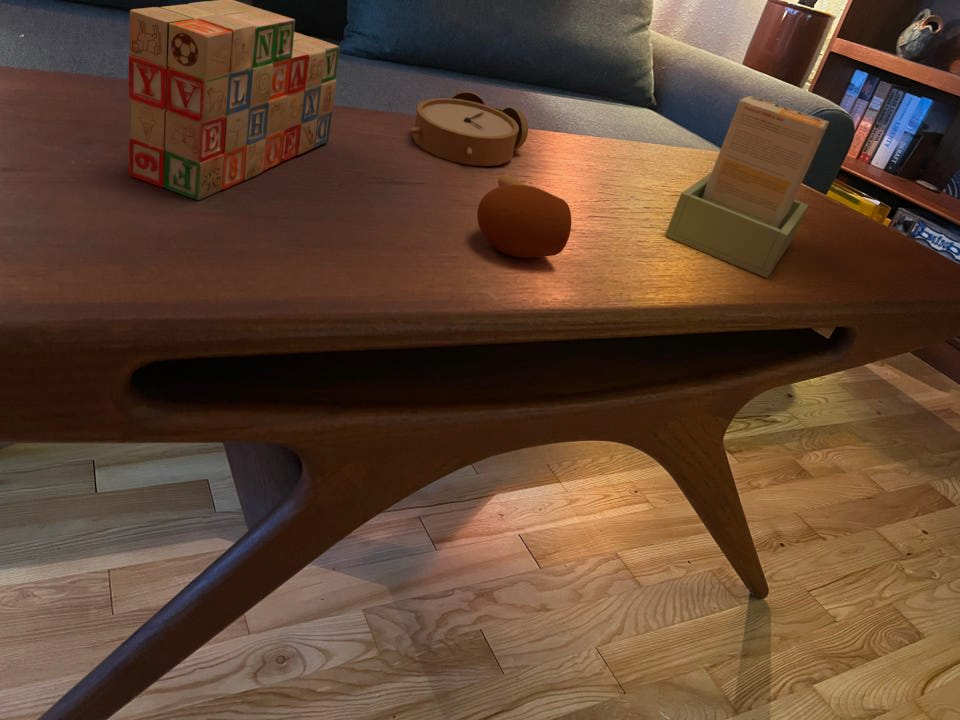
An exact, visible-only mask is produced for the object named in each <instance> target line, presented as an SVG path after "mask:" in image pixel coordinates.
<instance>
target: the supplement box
mask: <svg viewBox="0 0 960 720" xmlns="http://www.w3.org/2000/svg"><path fill="white" fill-rule="evenodd" d="M829 124H830V122H829V121H828V120H825V119H823V118H820V117H817V116H814V115H811V114H809V113H805V112H802V111H799V110H795V109H793V108H790V107H787V106H784V105H781V104H778V103H775V102H772V101H769V100H766V99H763V98H759V97H757V96H754V95H748V96H746V97H743V98H741V99H739V101H738V104H737V106H736V109H735V111H734V114H733V117H732V119H731V122H730V124H729V127H728V130H727V132H726V135H725V138H724V140H723V142H722V144H721V148H720V150H719V153H718V156H717V158H716V160H715V163H714V166H713V168H712V170H711V172H712V173H711V172H710V173H711V175H710V178H709V181H708V183H707V186H706V188H705V191H704V193H703V196H702V199H704V200H707V201H709V202H712V203H714V204H717V205H719V206H722V207H725V208H727V209H730V210H732V211H735V212H737V213H740V214H742V215H745V216H747V217H750V218H752V219H755V220H758V221H760V222H763V223H765V224H768V225H770V226H773V227H775V228H778V229H781V227H782V225H783V223H784V221H785V219H786V216H787V214H788V212H789V210H790V207H791V205H792V203H793V201H794V200H796V197H797V194H798V192H799V190H800V187H801V185H802V183H803V182H804V179H805V177H806V175H807V173H808V170H809V168H810V166H811V163H812V162H813V159H814V157H815V155H816V152H817V150H818V148H819V146H820V144H821V142H822V140H823V137H824V135H825V133H826V131H827V128H828V126H829Z"/></svg>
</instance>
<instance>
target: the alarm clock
mask: <svg viewBox="0 0 960 720" xmlns="http://www.w3.org/2000/svg"><path fill="white" fill-rule="evenodd" d="M408 131H409V133H410V134H412V138H413V141H414V142H415V144H416V145H418V146H419V147H420V148H421V149H422V150H424V151H426V153H427V152H428V153H429V154H431V155H434V156H436V157H437V158H441V159H444V160H447V161H450V162H453V163H458V164H463V165H467V166H479V167H491V166H500V165H503V164H507V163H509V161H511V159H512V158H513V156H514V151H516V150H518V149H519V148H521V147H523V145H524V144H525V142H526V140H527V138H528V135H529V125H528V120H527V117H526V116H525V115H524V114H523V113H522V111H521V110H519V109H517V108H514V107H505V108H504V109H502V108H499V107H495V106H491V105H486V103H485V102H484V100H483V99H482V98H481V96H479V95H478V94H476V93H475V92H472V91H461V92H458V93H456V94H455V95H453V96H452V97H437V98H436V97H435V98H429V99H425V100H423V101H421V102H419V103H418V104H417V108H416V116H415V123H414V127H412V128H410V129H409V130H408Z"/></svg>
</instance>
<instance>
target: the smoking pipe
mask: <svg viewBox="0 0 960 720" xmlns="http://www.w3.org/2000/svg"><path fill="white" fill-rule="evenodd" d="M497 184H498V187H496V188H493V189H491V190H490V191H488V192H487V193H486V194H484V196H483V197H482V198H481V200H480V201H479V203H478V206H477V212H476V216H477V217H476V218H477V224H478V227H479V229H480V231H481V233H482V235H483V237H484V238H485V239H486V241H487V242H488V244H489V245H491V246H492V247H494V249H496V250H498V251H500V252H502V253H503V254H505V255H508V256H509V257H514V258H519V259H520V258H524V259H530V258H531V259H532V258H542V257H552V256H553V257H554V256H556V255H558V254H560V253H561V252H562V251H563V250H564V249H565V247H566V246H567V243H568V241H569V238H570V236H571V231H572V213H571V209H570V206H569V205H568V202H567V201H566V200H565V199H563V198H561V197H559V196H557V195H554V194H552V193H550V192H548V191H546V190H543V189H542V188H539V187H535V186H531V185H527V184H526V183H524V182H521V181H520V180H518V179H516V178H515V177H513V176H512V174H509V173H503V174H500V176H499V177H498V180H497Z"/></svg>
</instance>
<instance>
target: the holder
mask: <svg viewBox="0 0 960 720" xmlns="http://www.w3.org/2000/svg"><path fill="white" fill-rule="evenodd" d="M711 173H712V171H711V172H710V173H708V174H706V175H705V176H704V177H702V178H701V179H700V180H698V181H696V182H695V183H694V184H692V185H691V186H689V187H688V188H686V189H685V190H684V191H682V192H681V193H680V195H679V198H678V200H677V203H676V206H675V208H674V211H673V213H672V216H671V218H670V221H669V224H668V227H667V228H666V231H665V234H664V237H666V238H668V239H671V240H674V241H675V242H678V243H681V244H683V245H685V246H688V247H690V248H692V249H695V250H698V251H699V252H702V253H704V254H707V255H709V256H712V257H714V258H717V259H719V260H721V261H724V262H727V263H729V264H731V265H733V266H735V267H738V268H741V269H743V270H746V271H748V272H750V273H753V274H754V275H757V276H760V277H762V278H765V279H768V278H769V276H770V275H771V273H772V272H773V270H774V269H775V267H776V266H777V264H778V262H779V261H780V260H781V258H782V257H783V256H784V254H785V252H786V251H787V249H788V248H789V246H790V245H791V243H792V242H793V239H794V237H795V236H796V235H795V234H796V233H797V231H798V228H799V226H800V225H801V222H802V220H803V218H804V216H805V214H806V212H807V210H808V208H809V204H807V203H804V202H802V201H800V200H797V199H794V201H793V203H792V205H791V207H790V210H789V212H788V214H787V216H786V219H785V221H784V223H783V225H782V227H781V229H778V228H775V227H773V226H770V225H768V224H765V223H763V222H760V221H758V220H755V219H752V218H750V217H747V216H745V215H742V214H740V213H737V212H735V211H732V210H730V209H727V208H725V207H722V206H719V205H717V204H714V203H712V202H709V201H707V200H704V199H702V196H703V193H704V191H705V188H706V186H707V183H708V181H709V178H710V175H711Z"/></svg>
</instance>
